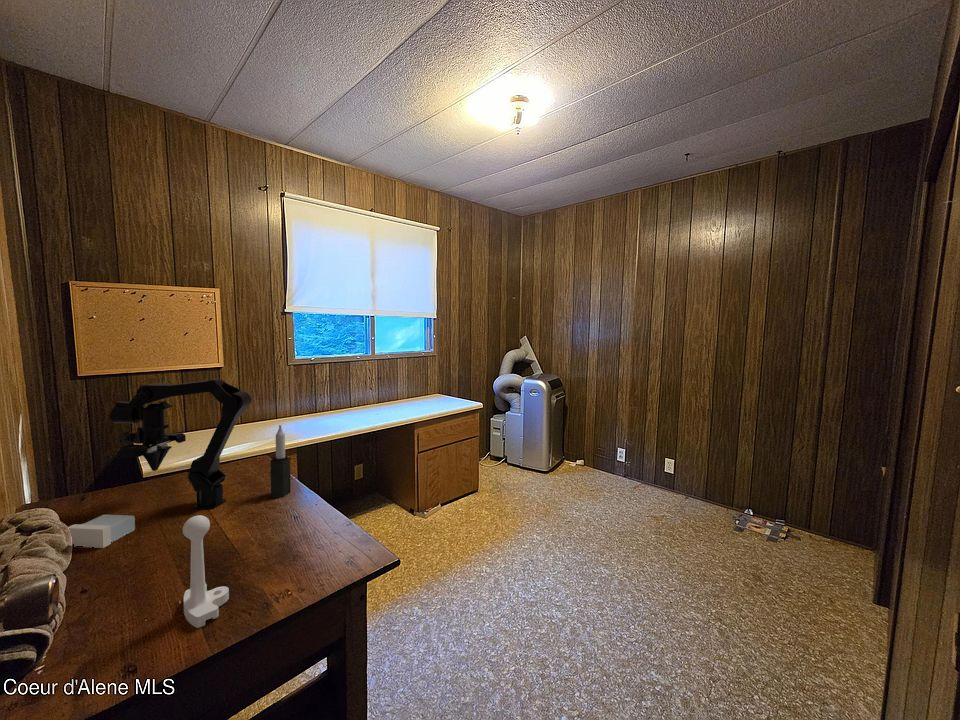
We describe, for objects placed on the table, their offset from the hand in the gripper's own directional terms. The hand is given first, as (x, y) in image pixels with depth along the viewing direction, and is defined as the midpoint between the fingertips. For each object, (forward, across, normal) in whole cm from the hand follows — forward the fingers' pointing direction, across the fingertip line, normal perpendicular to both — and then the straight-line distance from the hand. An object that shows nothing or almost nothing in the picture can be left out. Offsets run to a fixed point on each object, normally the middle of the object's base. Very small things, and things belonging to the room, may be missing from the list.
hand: (154, 470), depth 122 cm
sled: (+12, +18, +2) cm, 22 cm away
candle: (+12, -13, +34) cm, 38 cm away
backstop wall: (+12, +22, +2) cm, 26 cm away
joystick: (+12, +42, +50) cm, 66 cm away
